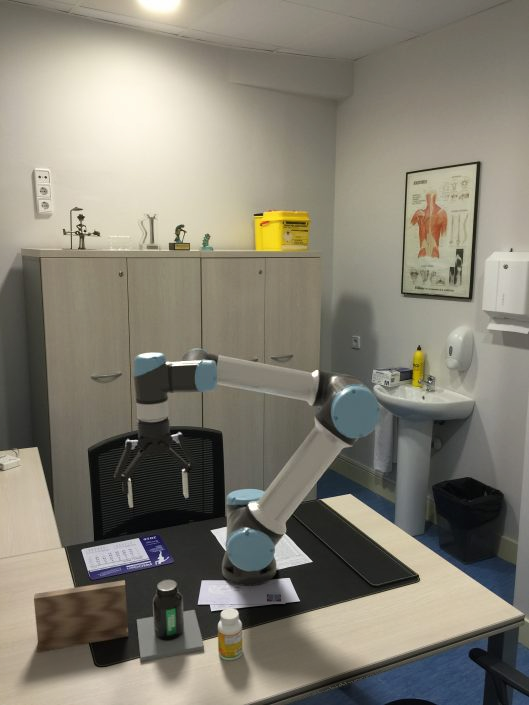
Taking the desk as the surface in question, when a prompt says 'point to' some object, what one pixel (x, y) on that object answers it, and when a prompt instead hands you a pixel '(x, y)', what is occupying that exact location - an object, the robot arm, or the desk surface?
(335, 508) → the desk surface
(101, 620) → the walnut screen
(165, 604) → the supplement bottle
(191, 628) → the slate mat
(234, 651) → the supplement bottle
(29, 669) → the desk surface
